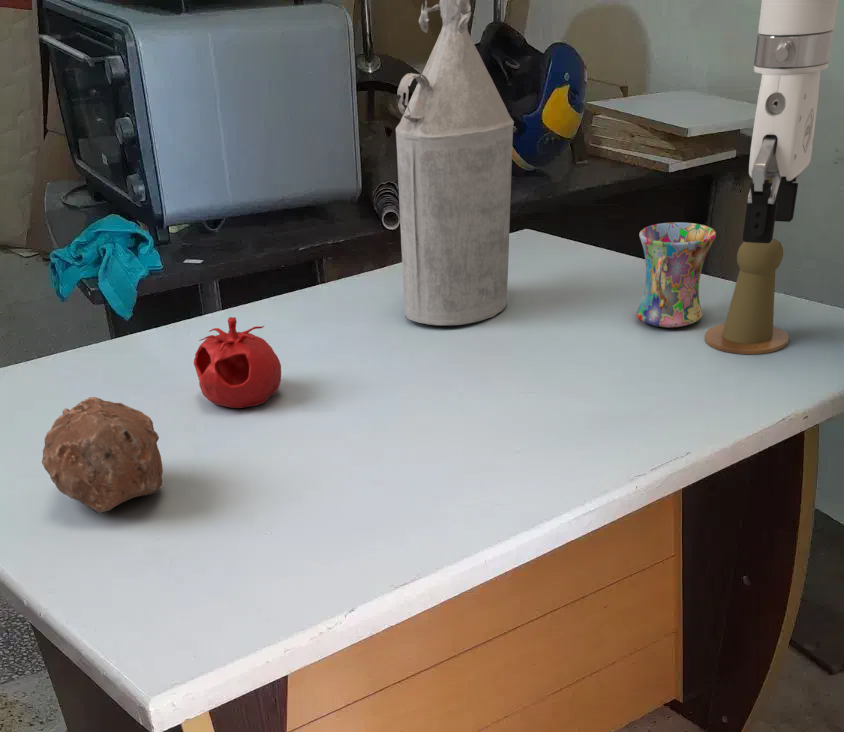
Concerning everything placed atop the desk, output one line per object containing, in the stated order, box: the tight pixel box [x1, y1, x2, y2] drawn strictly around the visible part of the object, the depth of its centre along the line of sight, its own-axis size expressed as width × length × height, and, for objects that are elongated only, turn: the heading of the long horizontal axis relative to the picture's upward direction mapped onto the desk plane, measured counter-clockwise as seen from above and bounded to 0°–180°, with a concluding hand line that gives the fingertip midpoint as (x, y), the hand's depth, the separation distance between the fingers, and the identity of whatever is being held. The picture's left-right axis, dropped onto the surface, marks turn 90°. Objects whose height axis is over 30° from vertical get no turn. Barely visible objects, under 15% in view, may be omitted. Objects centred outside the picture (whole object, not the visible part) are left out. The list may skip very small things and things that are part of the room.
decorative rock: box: [41, 396, 164, 514], centre depth 99 cm, size 13×11×10 cm
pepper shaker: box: [722, 238, 784, 344], centre depth 122 cm, size 6×6×11 cm
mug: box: [635, 221, 717, 328], centre depth 128 cm, size 12×9×11 cm
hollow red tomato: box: [193, 316, 282, 409], centre depth 117 cm, size 10×10×9 cm
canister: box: [395, 0, 515, 327], centre depth 126 cm, size 13×17×40 cm
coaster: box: [704, 323, 789, 355], centre depth 126 cm, size 10×10×1 cm
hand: (768, 231), depth 117 cm, fingers open, 9 cm apart
